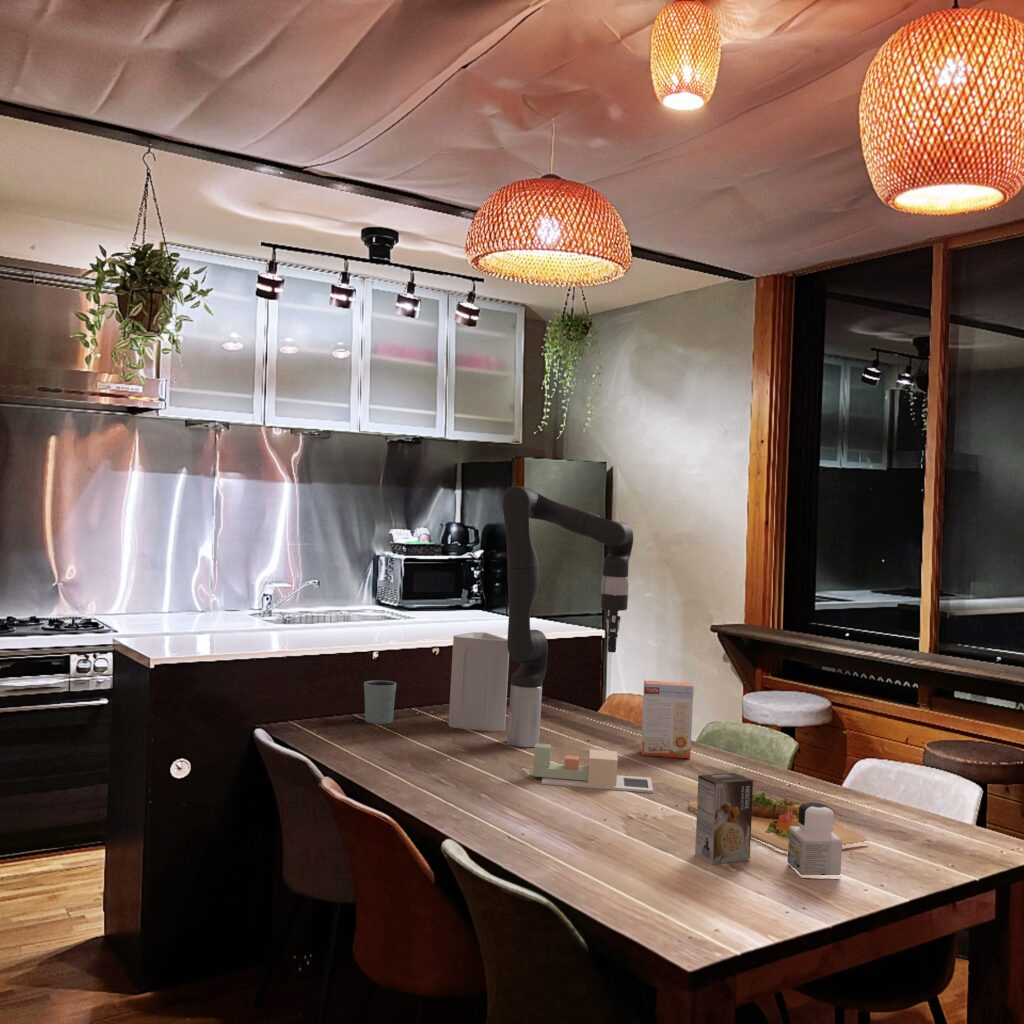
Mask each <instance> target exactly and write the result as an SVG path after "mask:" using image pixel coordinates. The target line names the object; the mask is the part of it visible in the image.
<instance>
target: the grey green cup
mask: <svg viewBox="0 0 1024 1024" xmlns="http://www.w3.org/2000/svg"><path fill="white" fill-rule="evenodd" d="M363 690H364V691H363V692H364V722H366V723H368V724H374V725H387V724H391V723H393V722H394V713H395V712H394V708H395V699H396V691H397V682H395V681H391V680H384V679H383V680H379V679H378V680H374V679H373V680H367V681H364V682H363Z"/></svg>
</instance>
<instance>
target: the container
mask: <svg viewBox="0 0 1024 1024" xmlns="http://www.w3.org/2000/svg"><path fill="white" fill-rule="evenodd" d="M804 803H805V804H802V805H800V807H799V818H798V826H799V827H798V826H790V827H789V842H788V855H787V862H788V863H789V864H790V865H791V866H792V867H793V868H795V869H796V870H797V871H798V872H799V873H800V874H801V875H840V874H841V873H842V872H841V871H842V854H843V851H842V840H841V839H840V838H839V837H837V836H836V835H835V834H834V833H832V832H833V827H834V824H835V823H834V822H835V811H834V810H833V808H832V807H830V806H828V805H827V804H823V803H819V802H810V803H806V802H804ZM787 862H786V863H787ZM841 875H842V874H841Z"/></svg>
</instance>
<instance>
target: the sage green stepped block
mask: <svg viewBox="0 0 1024 1024" xmlns="http://www.w3.org/2000/svg"><path fill="white" fill-rule="evenodd" d="M533 754H534V756H533V770H532V777H538V778H543V777H547V778H560V779H572V780H585V781H588V776H589V765H580V756H579V755H567V754H565V756H564V763H556V762H555V763H554V762H553V763H552V762H551V760H552V757H551V756H552V744H551V743H550V744H548V743H539V744H538V743H536V744H535V747H534V753H533Z"/></svg>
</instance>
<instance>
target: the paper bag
mask: <svg viewBox="0 0 1024 1024" xmlns="http://www.w3.org/2000/svg"><path fill="white" fill-rule="evenodd" d="M452 639H453V641H452V657H451V659H452V660H451V676H450V691H449V692H450V693H449V694H450V695H449V710H448V711H449V712H448V726H449V727H450V728H455V729H463V730H473V731H482V732H483V731H484V732H491V733H492V732H505V731H506V719H507V702H508V701H507V698H508V683H509V682H508V681H509V667H510V655H509V652H508V646H507V638H504V637H502V636H498V635H495V634H492V633H489V632H485V631H483V632H481V631H480V632H477V631H476V632H474V631H472V632H466V633H462V634H460V633H459V634H456V635H453V638H452Z"/></svg>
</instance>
